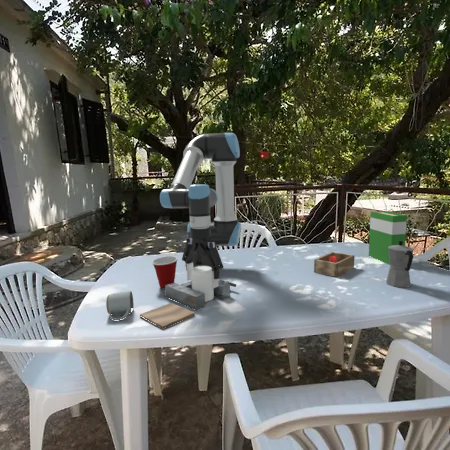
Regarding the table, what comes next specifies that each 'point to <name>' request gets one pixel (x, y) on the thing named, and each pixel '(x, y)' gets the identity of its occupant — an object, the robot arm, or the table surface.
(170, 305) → the pad
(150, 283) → the table surface
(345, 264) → the crate frame
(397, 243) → the green cereal box
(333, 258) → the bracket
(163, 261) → the plastic cup
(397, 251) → the coffeepot
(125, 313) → the ceramic mug
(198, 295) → the c-clamp
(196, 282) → the beverage can
